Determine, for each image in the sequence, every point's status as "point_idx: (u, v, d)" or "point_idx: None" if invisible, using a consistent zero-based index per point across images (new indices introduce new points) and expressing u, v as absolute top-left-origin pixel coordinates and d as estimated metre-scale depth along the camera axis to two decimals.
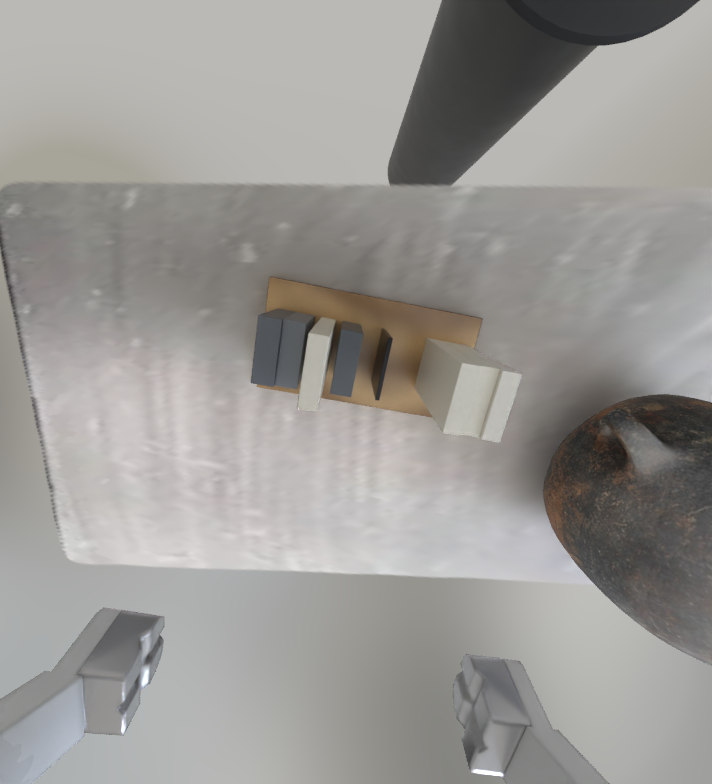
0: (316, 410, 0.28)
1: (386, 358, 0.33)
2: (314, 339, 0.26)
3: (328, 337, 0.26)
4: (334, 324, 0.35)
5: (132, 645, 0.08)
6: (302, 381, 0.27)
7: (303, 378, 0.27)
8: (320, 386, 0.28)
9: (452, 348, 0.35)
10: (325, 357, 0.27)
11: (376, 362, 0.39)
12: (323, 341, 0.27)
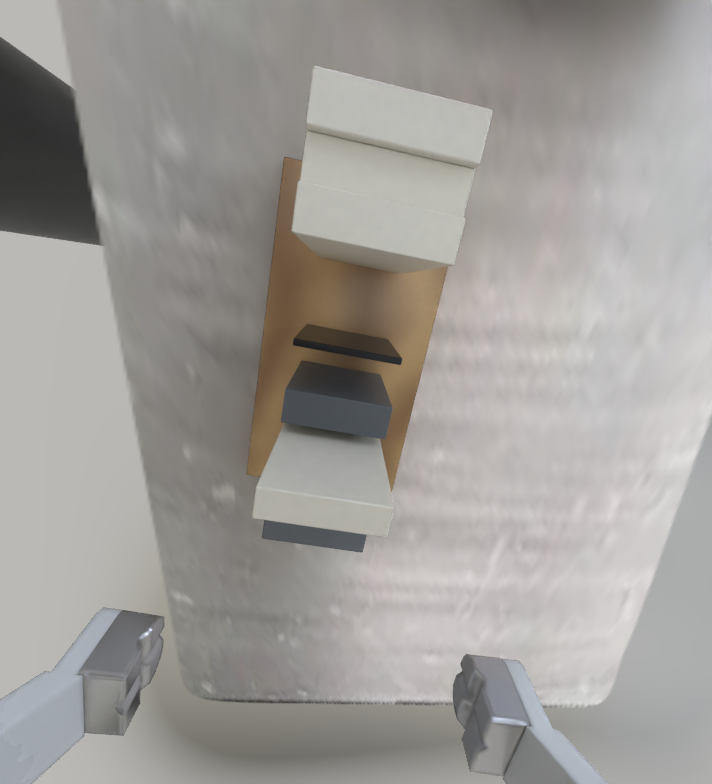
0: (390, 508, 0.16)
1: (328, 348, 0.20)
2: (262, 510, 0.15)
3: (257, 489, 0.15)
4: None
5: (132, 645, 0.08)
6: (337, 528, 0.16)
7: (331, 527, 0.16)
8: (345, 502, 0.16)
9: None
10: (293, 493, 0.15)
11: None
12: (264, 496, 0.15)
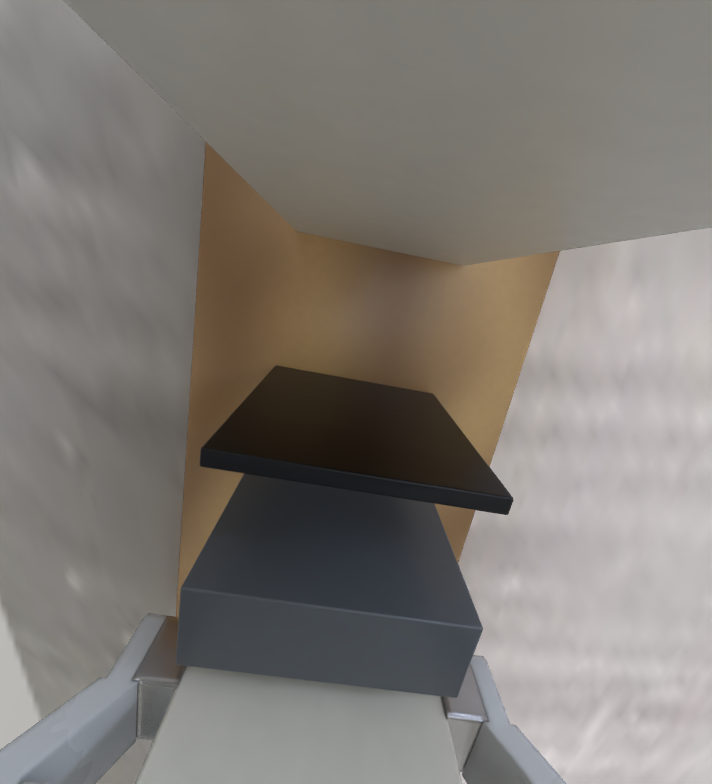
0: None
1: (302, 473, 0.07)
2: None
3: None
4: None
5: None
6: None
7: None
8: None
9: None
10: None
11: None
12: None
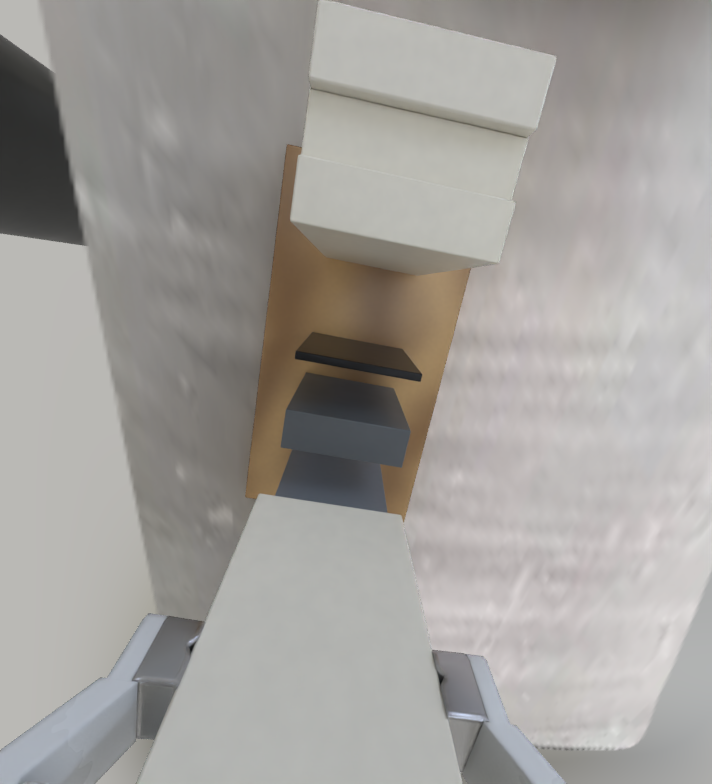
0: None
1: (335, 362, 0.17)
2: None
3: None
4: (225, 576, 0.11)
5: (182, 651, 0.08)
6: None
7: None
8: None
9: None
10: None
11: None
12: None
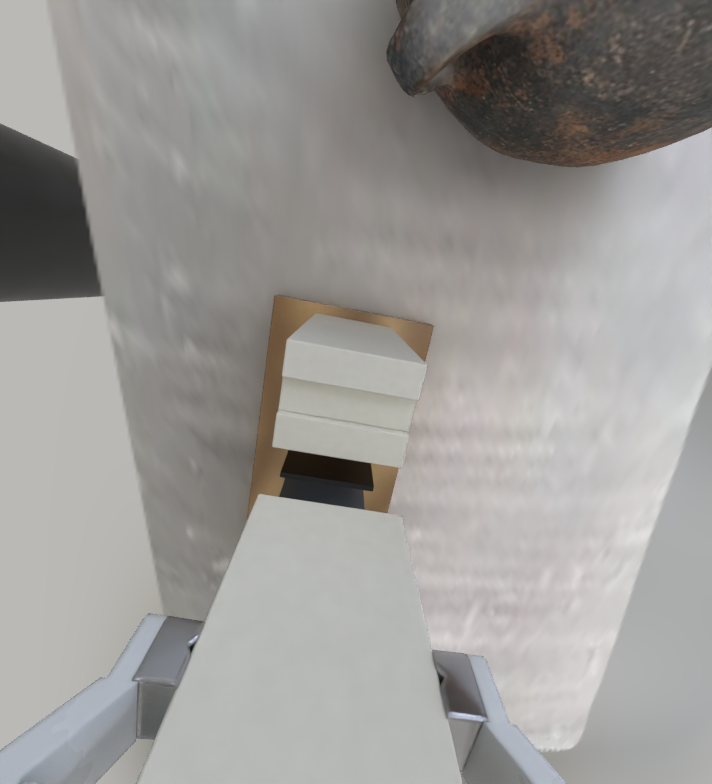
0: None
1: (310, 479, 0.23)
2: None
3: None
4: (225, 576, 0.11)
5: (182, 651, 0.08)
6: None
7: None
8: None
9: None
10: None
11: None
12: None
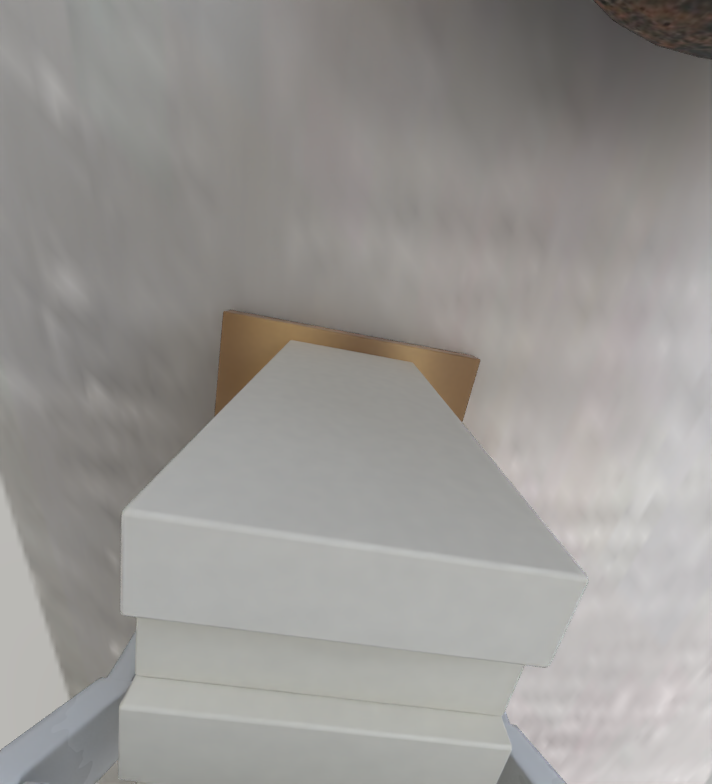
0: None
1: None
2: None
3: None
4: None
5: None
6: None
7: None
8: None
9: None
10: None
11: None
12: None
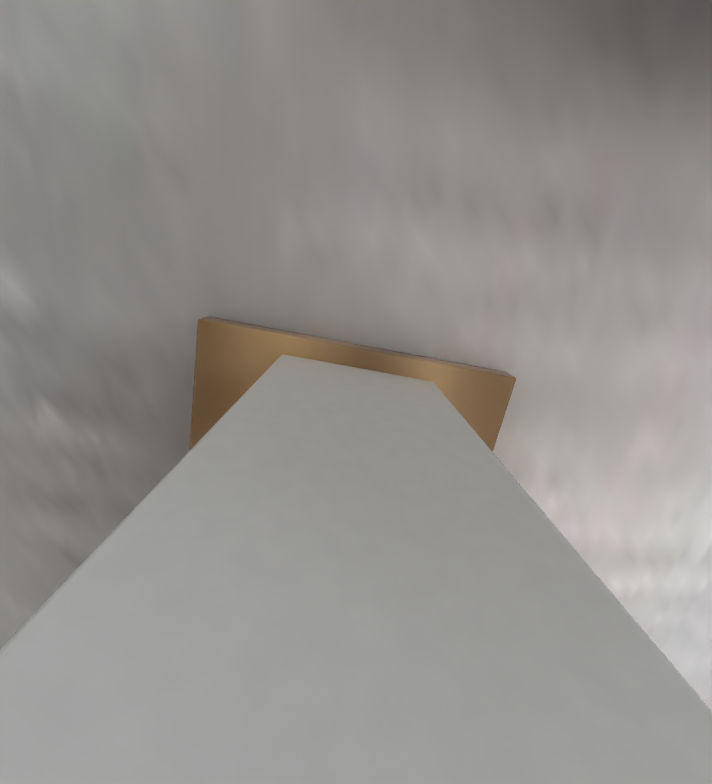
0: None
1: None
2: None
3: None
4: None
5: None
6: None
7: None
8: None
9: None
10: None
11: None
12: None
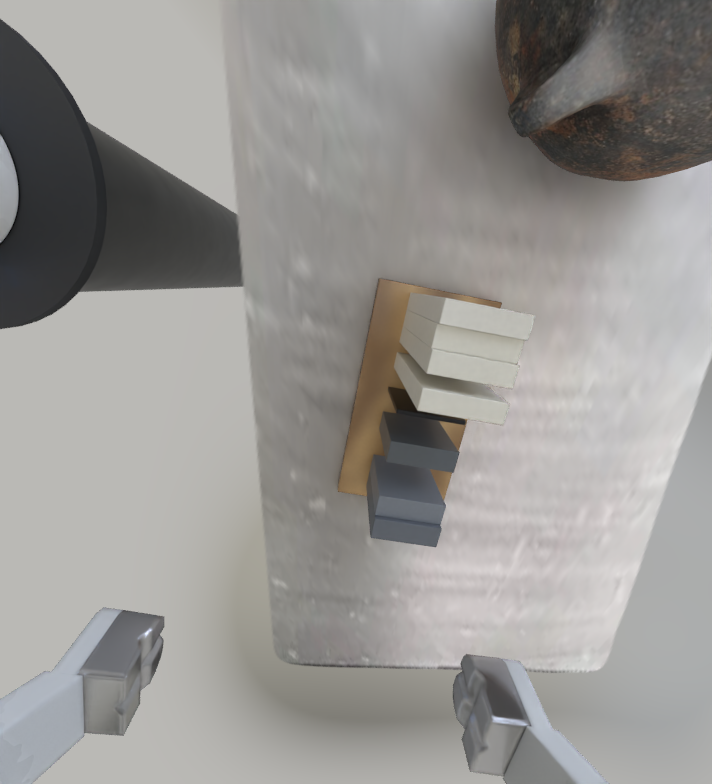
0: (507, 404, 0.24)
1: (418, 415, 0.30)
2: (424, 404, 0.24)
3: (423, 389, 0.24)
4: (403, 361, 0.32)
5: (132, 645, 0.08)
6: (471, 418, 0.24)
7: (468, 417, 0.24)
8: (479, 399, 0.24)
9: (411, 335, 0.30)
10: (445, 393, 0.24)
11: None
12: (427, 395, 0.24)
